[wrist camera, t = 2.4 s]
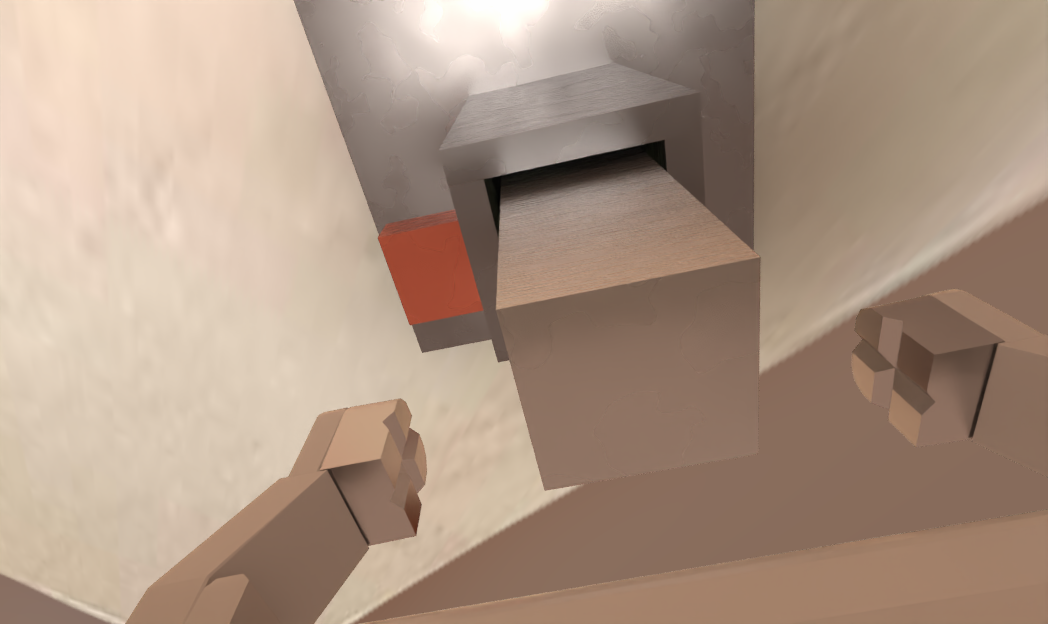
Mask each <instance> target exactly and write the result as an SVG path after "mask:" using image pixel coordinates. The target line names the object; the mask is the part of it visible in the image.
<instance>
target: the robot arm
mask: <svg viewBox="0 0 1048 624" xmlns="http://www.w3.org/2000/svg"><path fill="white" fill-rule="evenodd" d="M855 332H856V333H857V334H858V335H859V336H860V337H861V338H862V340H861V342H860V343H859V344H858V345H857V347H856V348H855V349H854V350H853V351H852V362H851V369H852V373H853V376H854V379H855V383H856V384H857V386H858V388H859V390H860V391H861V393H862V394H863V395H864V396H865V397H866V398H867V399H868V400H869V401H870V402H871V403H873V404H875V405H878V406H880V407H883V408H886V409H888V410H889V414H888V421H889V422H890V423H891V424H892V425H893V426H894V427H896V428H897V430H898V431H900V432H901V433H902V435H904V437H906V438H907V439H908V440H909V441H910V442H911V443H912V444H913V445H914V446H915V447H923V446H930V445H937V444H943V443H950V442H955V441H963V440H970V439H972V442H974V443H976V444H978V445H980V446H982V447H984V448H986V449H988V450H990V451H993V452H995V453H997V454H999V455H1001V456H1003V457H1005V458H1008V459H1009V460H1012V461H1014V462H1016V463H1018V464H1020V465H1022V466H1024V467H1026V468H1029V469H1031V470H1033V471H1035V472H1037V473H1039V474H1041V475H1043V476H1046V477H1048V334H1047V335H1043V334H1042V333H1040V332H1038V331H1036V330H1035V329H1033V328H1031V327H1029V326H1027V325H1026V324H1024V323H1022V322H1020V321H1018V320H1017V319H1015V318H1013V317H1011V316H1009V315H1008V314H1006V313H1004V312H1002V311H1000V310H998V309H997V308H995V307H993V306H991V305H989V304H988V303H986V302H984V301H982V300H980V299H978V298H977V297H975V296H973V295H971V294H970V293H968V292H966V291H964V290H957V289H950V290H946V291H941V292H937V293H933V294H928V295H924V296H921V297H917V298H913V299H908V300H903V301H898V302H894V303H889V304H884V305H880V306H874V307H869V308H865V309H861V310H860V312H859V313H858V315H857V317H856V323H855ZM411 418H412V415H411V412H410V410H409V408H408V406H407V403H406V402H405V401H404V400H402V399H401V398H400V399H394V400H389V401H383V402H377V403H371V404H366V405H360V406H354V407H350V408H343V409H338V410H333V411H328V412H324V413H322V414H320V415H319V416H318V417H317V419H316V421H315V423H314V425H313V427H312V429H311V431H310V433H309V435H308V437H307V439H306V441H305V443H304V446H303V448H302V450H301V452H300V454H299V456H298V458H297V460H296V462H295V464H294V466H293V468H292V470H291V472H290V474H289V476H288V477H286V478H281V479H279V480H278V481H276V482H275V483H274V484H273V485H272V486H270V487H269V488H268V489H267V490H266V491H264V492H263V493H262V494H261V495H260V496H258V497H257V498H256V499H255V500H254V501H252V502H251V503H250V504H249V505H247V506H246V507H245V508H244V509H243V510H241V511H240V512H239V513H238V514H237V515H235V516H234V517H233V518H232V519H231V520H229V521H228V522H227V523H226V524H225V525H223V526H222V527H221V528H220V529H219V530H217V531H216V532H215V533H214V534H213V535H211V536H210V537H209V538H208V539H207V540H205V541H204V542H203V543H202V544H201V545H199V546H198V547H197V548H196V549H194V550H193V551H192V552H191V553H190V554H188V555H187V556H186V557H185V558H184V559H182V560H181V561H180V562H179V563H178V564H176V565H175V566H174V567H173V568H172V569H170V570H169V571H168V572H167V573H166V574H164V575H163V576H162V577H161V578H160V579H158V580H157V581H156V582H155V583H154V584H152V585H151V586H150V587H149V588H148V589H147V591H146V592H145V594H144V595H143V597H142V598H141V600H140V601H139V603H138V605H137V606H136V608H135V609H134V611H133V612H132V614H131V616H130V617H129V619H128V620H127V622H126V623H125V624H314V623H315V622H316V620H317V619H318V617H319V616H320V615H321V613H322V612H323V611H324V609H325V608H326V607H327V605H328V604H329V602H330V601H331V600H332V598H333V597H334V596H335V594H336V593H337V592H338V590H339V589H340V587H341V586H342V585H343V583H344V582H345V581H346V579H347V578H348V577H349V575H350V574H351V572H352V571H353V570H354V568H355V567H356V566H357V564H358V563H359V562H360V560H361V559H362V558H363V556H364V555H365V553H366V552H367V551H368V549H369V547H368V546H370V545H375V544H380V543H385V542H389V541H394V540H399V539H404V538H409V537H414V536H416V534H417V528H418V523H419V517H420V511H421V506H422V504H421V502H420V499H419V497H418V495H417V493H418V492H419V491H420V490H421V489H422V488H423V486H424V485H425V482H426V475H427V464H426V454H425V449H424V445H423V442H422V440H421V437H420V434H418V433H417V432H415V431H414V430H412V429H411V428H409V427H410V422H411ZM362 624H1048V509H1045V510H1040V511H1033V512H1027V513H1022V514H1016V515H1010V516H1003V517H997V518H991V519H985V520H980V521H973V522H967V523H961V524H955V525H949V526H943V527H937V528H931V529H925V530H919V531H913V532H907V533H901V534H895V535H889V536H883V537H877V538H871V539H865V540H859V541H853V542H847V543H841V544H834V545H828V546H822V547H816V548H810V549H805V550H799V551H792V552H787V553H780V554H774V555H768V556H763V557H757V558H750V559H744V560H738V561H733V562H727V563H721V564H715V565H709V566H703V567H697V568H691V569H685V570H679V571H673V572H667V573H661V574H655V575H649V576H643V577H637V578H631V579H625V580H619V581H613V582H607V583H601V584H596V585H589V586H583V587H577V588H571V589H565V590H559V591H553V592H547V593H541V594H535V595H529V596H523V597H517V598H511V599H505V600H499V601H493V602H487V603H481V604H475V605H470V606H463V607H458V608H451V609H445V610H439V611H433V612H427V613H422V614H415V615H409V616H404V617H397V618H391V619H385V620H379V621H373V622H367V623H362Z"/></svg>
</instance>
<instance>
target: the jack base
mask: <svg viewBox="0 0 1048 624" xmlns="http://www.w3.org/2000/svg"><path fill="white" fill-rule="evenodd" d="M294 3H295V5H296V8H297V11H298V14H299V16H300V19H301V22H302V24H303V27H304V30H305V33H306V35H307V38H308V41H309V44H310V46H311V49H312V52H313V55H314V57H315V60H316V63H317V66H318V68H319V71H320V74H321V77H322V79H323V82H324V85H325V88H326V90H327V93H328V96H329V99H330V101H331V104H332V107H333V110H334V112H335V115H336V118H337V121H338V123H339V126H340V129H341V131H342V134H343V137H344V140H345V142H346V145H347V148H348V151H349V153H350V156H351V159H352V162H353V164H354V167H355V170H356V173H357V175H358V178H359V181H360V184H361V186H362V189H363V192H364V195H365V197H366V200H367V203H368V206H369V208H370V211H371V214H372V217H373V219H374V222H375V225H376V227H377V230H378V233H379V237H378V240H379V243H380V245H381V248H382V251H383V253H384V256H385V259H386V262H387V264H388V267H389V270H390V272H391V275H392V278H393V281H394V283H395V286H396V289H397V292H398V294H399V297H400V300H401V302H402V305H403V308H404V311H405V313H406V316H407V319H408V322H409V324H410V325H412V326H413V329H414V332H415V334H416V337H417V340H418V343H419V345H420V348H421V351H422V353H423V352H428V351H433V350H439V349H444V348H449V347H454V346H459V345H464V344H469V343H475V342H480V341H485V340H490V339H492V342H493V346H494V350H495V353H496V357H497V360H498V362H502V361H507V360H509V356H508V353H507V349H506V345H505V341H504V338H503V334H502V330H501V327H500V323H499V319H498V315H497V312H496V297H497V273H498V249H499V225H500V201H501V178H502V175H505V174H509V173H514V172H519V171H523V170H528V169H532V168H537V167H542V166H546V165H551V164H555V163H560V162H564V161H569V160H574V159H578V158H583V157H587V156H592V155H596V154H601V153H606V152H610V151H615V150H619V149H624V148H629V147H633V146H639V147H640V148H641V149H642V150H643V151H644V152H646V153H647V154H648V155H649V156H650V157H651V158H652V159H653V160H654V161H655V162H656V163H658V164H659V165H660V166H661V167H662V168H663V169H664V170H665V171H666V172H667V173H669V174H670V175H671V176H672V177H673V178H674V179H675V180H676V181H677V182H678V183H679V184H681V185H682V186H683V187H684V188H685V189H686V190H687V191H688V192H689V193H690V194H692V195H693V196H694V197H695V198H696V199H697V200H698V201H699V202H700V203H701V204H703V205H704V206H705V207H706V208H707V209H708V210H709V211H710V212H711V213H712V214H713V215H715V216H716V217H717V218H718V219H719V220H720V221H721V222H722V223H723V224H724V225H726V226H727V227H728V228H729V229H730V230H731V231H732V232H733V233H734V234H735V235H737V236H738V237H739V238H740V239H741V240H742V241H743V242H744V243H745V244H746V245H747V246H749V247H750V248H751V249H752V250H753V227H754V0H294Z"/></svg>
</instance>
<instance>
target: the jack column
mask: <svg viewBox="0 0 1048 624" xmlns="http://www.w3.org/2000/svg"><path fill="white" fill-rule="evenodd" d="M496 312H497V315H498V319H499V323H500V327H501V330H502V334H503V338H504V341H505V345H506V349H507V353H508V356H509V360H510V364H511V367H512V371H513V375H514V379H515V382H516V386H517V390H518V393H519V397H520V401H521V405H522V408H523V412H524V416H525V419H526V423H527V427H528V430H529V434H530V438H531V442H532V445H533V449H534V453H535V456H536V460H537V464H538V468H539V471H540V475H541V479H542V482H543V486H544V490H551V489H557V488H563V487H569V486H575V485H581V484H586V483H592V482H598V481H604V480H610V479H616V478H622V477H627V476H633V475H639V474H645V473H651V472H657V471H663V470H669V469H674V468H680V467H686V466H692V465H698V464H704V463H710V462H715V461H721V460H727V459H733V458H738V457H745V456H750V455H756V454H758V422H759V418H758V417H759V331H760V256H758V255H757V254H756V253H755V252H754V251H753V250H752V249H751V248H750V247H749V246H747V245H746V244H745V243H744V242H743V241H742V240H741V239H740V238H739V237H738V236H737V235H735V234H734V233H733V232H732V231H731V230H730V229H729V228H728V227H727V226H726V225H724V224H723V223H722V222H721V221H720V220H719V219H718V218H717V217H716V216H715V215H713V214H712V213H711V212H710V211H709V210H708V209H707V208H706V207H705V206H704V205H703V204H701V203H700V202H699V201H698V200H697V199H696V198H695V197H694V196H693V195H692V194H690V193H689V192H688V191H687V190H686V189H685V188H684V187H683V186H682V185H681V184H679V183H678V182H677V181H676V180H675V179H674V178H673V177H672V176H671V175H670V174H669V173H667V172H666V171H665V170H664V169H663V168H662V167H661V166H660V165H659V164H658V163H656V162H655V161H654V160H653V159H652V158H651V157H650V156H649V155H648V154H647V153H646V152H644V151H643V150H642V149H641V148H640V147H639V146H633V147H629V148H624V149H619V150H615V151H610V152H606V153H601V154H596V155H592V156H587V157H583V158H578V159H574V160H569V161H564V162H560V163H555V164H551V165H546V166H542V167H537V168H532V169H528V170H523V171H519V172H514V173H509V174H505V175H502V178H501V201H500V225H499V249H498V273H497V297H496Z"/></svg>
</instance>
